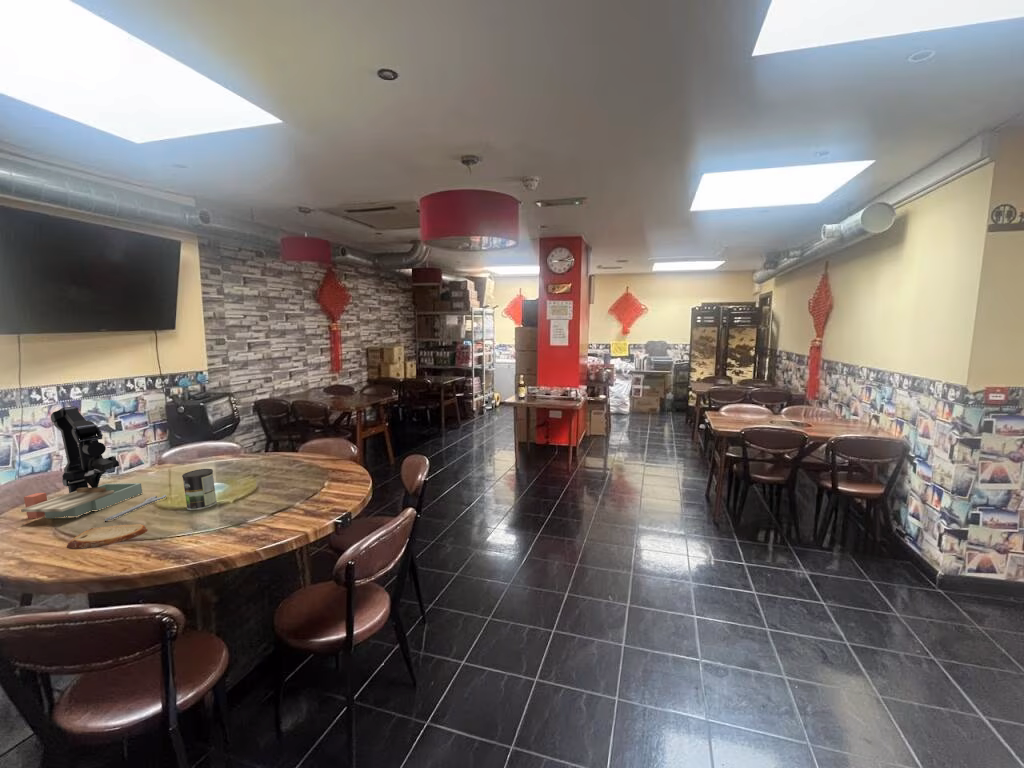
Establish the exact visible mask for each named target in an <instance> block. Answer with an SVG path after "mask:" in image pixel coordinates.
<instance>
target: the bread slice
mask: <svg viewBox="0 0 1024 768" xmlns="http://www.w3.org/2000/svg"><path fill="white" fill-rule="evenodd" d="M148 531H149V530H148V529H147V528H146V526H145V525H143V524H141V523H138V524H136V523H135V524H122V525H121V524H119V525H111V526H101V527H90V528H89V529H86V530H85V531H83V532H81V533H79V534H77V535H76V536H75V537H73V538H72V539H71V540H70V541H69V542H68V543H67V544H66V548H72V549H75V550H81V549H90V548H98V547H102V546H106V545H111V544H116V543H119V542H123V541H124V542H125V541H127V540H130V539H133V538H136V537H138V536H141V535H143V534H145V533H147V532H148Z"/></svg>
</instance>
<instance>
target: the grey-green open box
mask: <svg viewBox="0 0 1024 768" xmlns="http://www.w3.org/2000/svg"><path fill="white" fill-rule="evenodd" d="M98 487H106V490H114V493H112V494H109V495H106V496H104V497H101V498H98V499H95V500H93V501H90V502H87V503H85V504H82V505H79V506H76V507H74V508H71V509H68V510H65V511H63V512H45V516H44V517H45V519H56V518H55V517H64V516H65V517H66V516H67V517H68V516H78V515H81V514H84V513H86V512H89V511H92V510H99V509H102V508H105V507H107V506H110V505H113V504H115V503H118V502H120V501H123V500H125V499H128V498H130V497H133V496H136V495H138V494H141V493H143V489H142V488H143V487H142V483H141V482H140V483H139V482H138V483H135V482H134V483H133V482H132V483H131V482H129V483H127V482H126V483H125V482H124V483H123V482H122V483H104V484H101V485H98ZM141 495H142V494H141ZM138 496H139V495H138ZM136 497H137V496H136ZM133 498H134V497H133ZM128 500H129V499H128ZM123 502H124V501H123ZM118 504H119V503H118ZM113 506H114V505H113ZM105 509H106V508H105Z"/></svg>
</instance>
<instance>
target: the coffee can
mask: <svg viewBox="0 0 1024 768" xmlns="http://www.w3.org/2000/svg"><path fill="white" fill-rule="evenodd" d="M213 472H214V470H213V469H212V468H201V469H200V468H199V469H195V470H194V469H193V470H191V471H187V472H185V473H183V474H182V475H181V478H182V481H183V488H184V496H185V501H186V502H185V503H186V509H187V511H200V510H204V509H207V508H210V507H213V506H215V505H216V504H217V503H218V501H217V495H216V487H215V482H214V481H215V479H214V473H213Z"/></svg>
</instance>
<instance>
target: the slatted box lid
mask: <svg viewBox="0 0 1024 768" xmlns="http://www.w3.org/2000/svg"><path fill="white" fill-rule="evenodd" d="M112 493H114V490H106V487H91V486H88V488H78V489H77V491H74V492H71V493H69V492H68V493H66V494H62V495H60V496H57V497H53V498H51V499H47V501H44V502H42V503H39V504H36V505H33V506H30V507H27V508H26V507H24V508H21V509H20V511H21V512H22V513H27V512H63V511H65V510H68V509H71V508H74V507H76V506H79V505H82V504H85V503H87V502H90V501H93V500H95V499H98V498H101V497H104V496H106V495H109V494H112Z"/></svg>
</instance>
